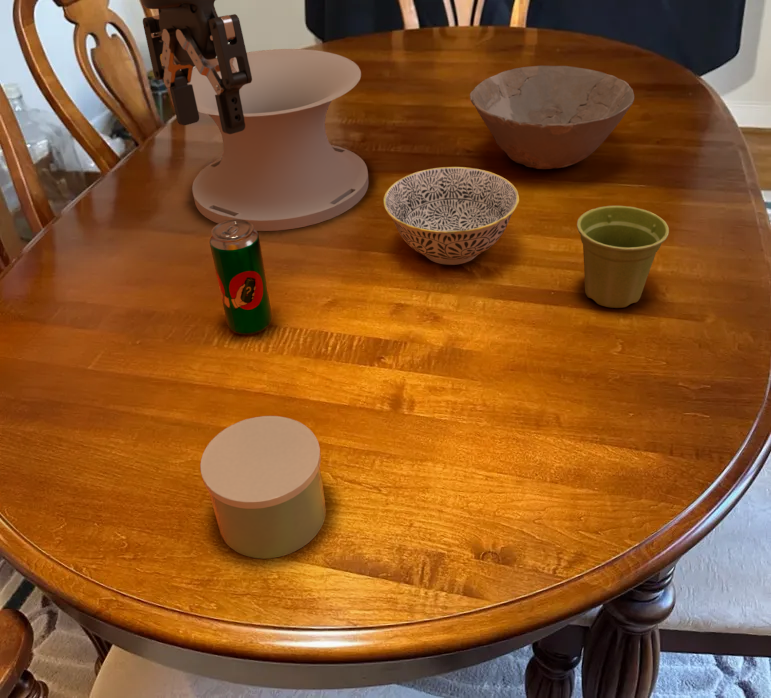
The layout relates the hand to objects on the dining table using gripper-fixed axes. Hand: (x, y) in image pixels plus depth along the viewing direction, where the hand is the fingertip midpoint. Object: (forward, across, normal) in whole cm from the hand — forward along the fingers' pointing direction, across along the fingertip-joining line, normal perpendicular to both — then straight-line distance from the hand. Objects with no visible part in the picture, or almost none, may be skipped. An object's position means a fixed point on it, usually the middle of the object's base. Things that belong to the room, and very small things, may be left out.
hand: (211, 127), depth 80 cm
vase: (+16, -23, +22) cm, 36 cm away
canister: (+26, +24, -16) cm, 39 cm away
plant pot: (+24, +26, +31) cm, 47 cm away
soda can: (+22, +1, -1) cm, 22 cm away
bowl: (+21, +7, +25) cm, 34 cm away
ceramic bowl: (+18, 0, +54) cm, 57 cm away
